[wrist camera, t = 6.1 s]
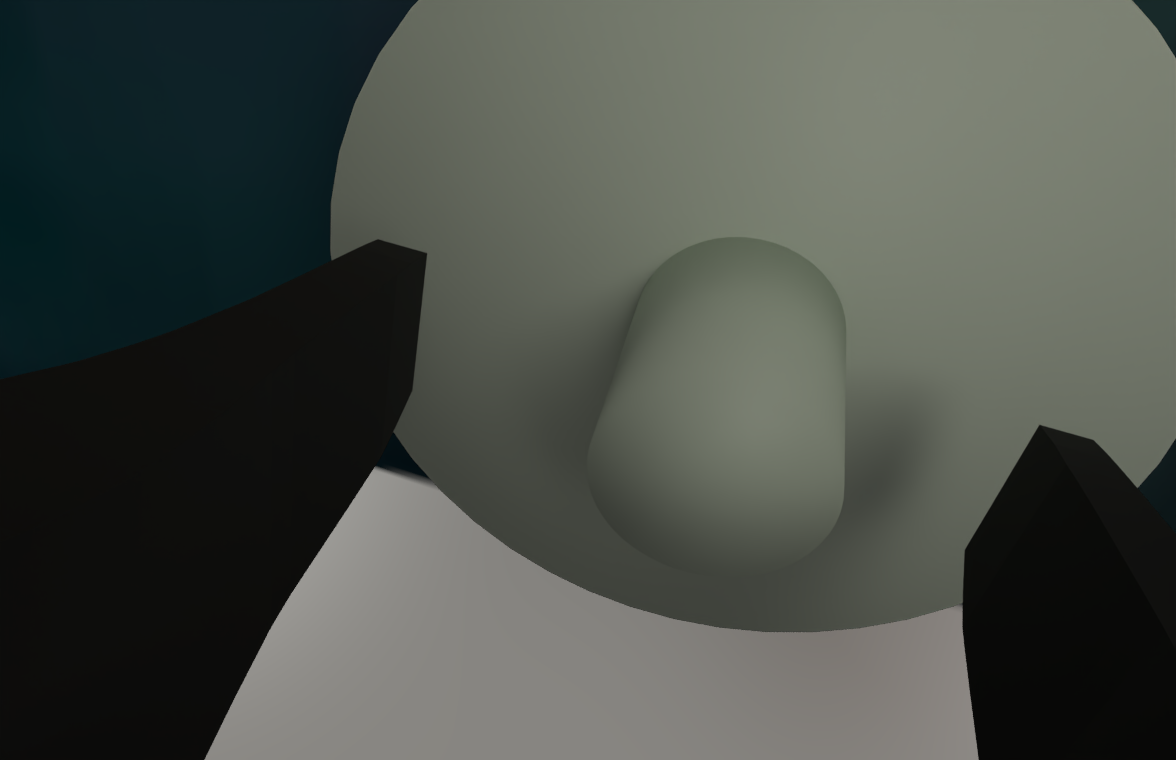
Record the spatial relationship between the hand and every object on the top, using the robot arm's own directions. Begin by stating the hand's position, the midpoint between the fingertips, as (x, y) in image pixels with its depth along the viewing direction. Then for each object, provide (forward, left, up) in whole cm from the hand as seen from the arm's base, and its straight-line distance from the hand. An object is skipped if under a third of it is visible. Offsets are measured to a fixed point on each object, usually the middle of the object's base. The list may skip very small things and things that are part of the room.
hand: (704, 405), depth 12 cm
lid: (0, 0, -3) cm, 3 cm away
